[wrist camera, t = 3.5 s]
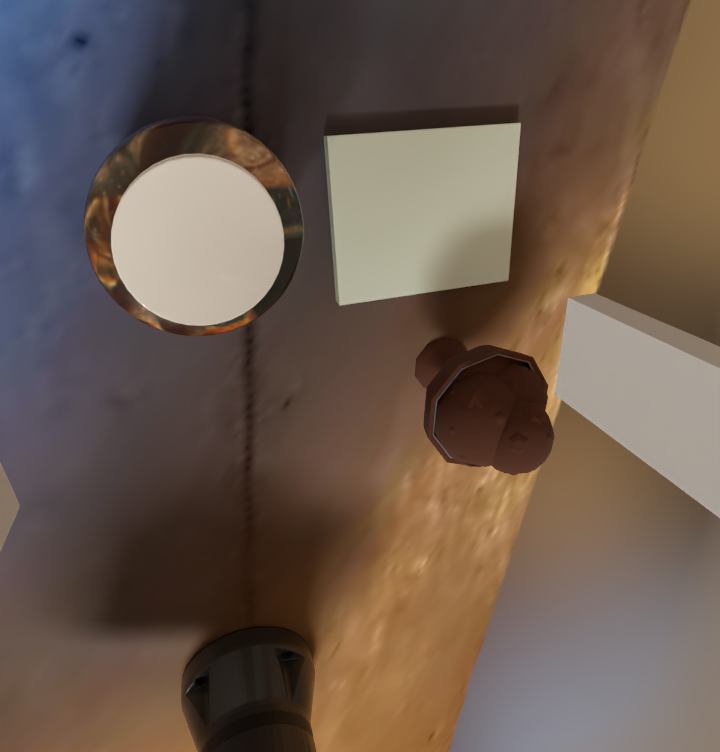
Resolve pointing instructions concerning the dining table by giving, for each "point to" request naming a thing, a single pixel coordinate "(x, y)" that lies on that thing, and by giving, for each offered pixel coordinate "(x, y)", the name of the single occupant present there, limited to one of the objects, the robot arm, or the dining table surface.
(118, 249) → the jar
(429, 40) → the dining table surface
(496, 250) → the board
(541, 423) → the ice cream bowl
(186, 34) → the dining table surface
